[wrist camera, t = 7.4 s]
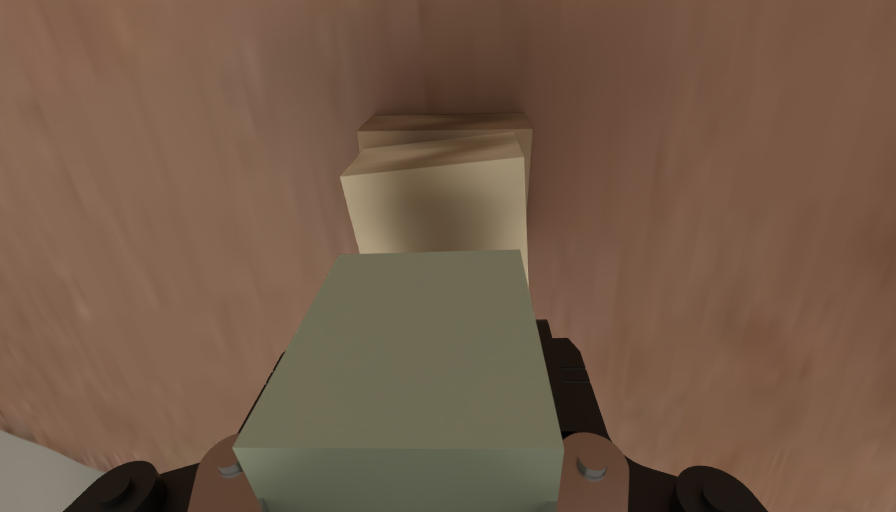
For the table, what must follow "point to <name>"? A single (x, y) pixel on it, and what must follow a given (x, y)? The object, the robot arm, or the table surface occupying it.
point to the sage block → (410, 393)
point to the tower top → (439, 196)
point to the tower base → (445, 130)
